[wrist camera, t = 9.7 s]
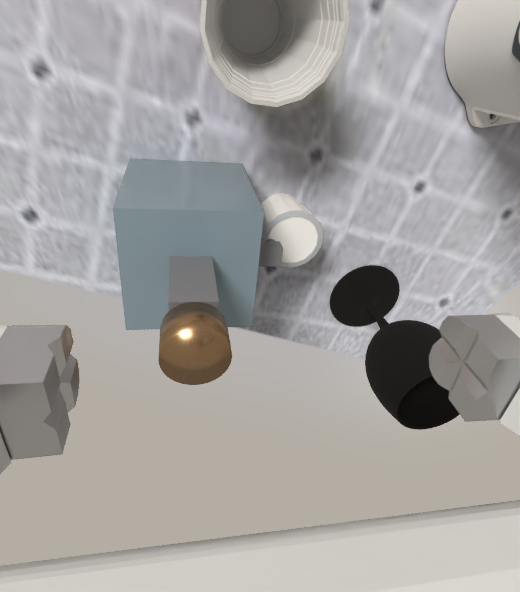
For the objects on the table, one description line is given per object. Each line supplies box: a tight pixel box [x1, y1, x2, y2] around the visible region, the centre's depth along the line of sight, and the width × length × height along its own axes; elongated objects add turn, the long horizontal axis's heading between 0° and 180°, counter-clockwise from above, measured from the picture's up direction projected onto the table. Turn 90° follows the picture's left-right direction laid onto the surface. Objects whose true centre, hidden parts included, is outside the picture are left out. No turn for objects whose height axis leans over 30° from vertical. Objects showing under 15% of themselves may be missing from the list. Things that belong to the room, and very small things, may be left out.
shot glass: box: [261, 194, 323, 268], centre depth 47 cm, size 7×7×7 cm
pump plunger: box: [159, 302, 232, 385], centre depth 32 cm, size 5×5×11 cm
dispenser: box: [113, 159, 283, 330], centre depth 40 cm, size 15×12×21 cm
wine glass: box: [330, 265, 459, 429], centre depth 51 cm, size 10×10×20 cm
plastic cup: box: [200, 0, 349, 107], centre depth 34 cm, size 11×11×12 cm
